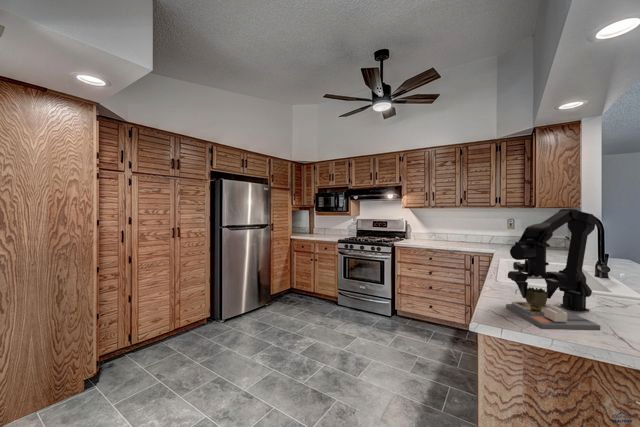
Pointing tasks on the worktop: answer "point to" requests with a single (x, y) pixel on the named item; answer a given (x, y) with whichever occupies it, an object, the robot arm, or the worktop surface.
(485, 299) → the worktop surface
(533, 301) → the cup
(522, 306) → the lockout tray
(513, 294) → the worktop surface
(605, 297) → the worktop surface
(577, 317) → the grey flat square slab
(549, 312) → the breaker switch
